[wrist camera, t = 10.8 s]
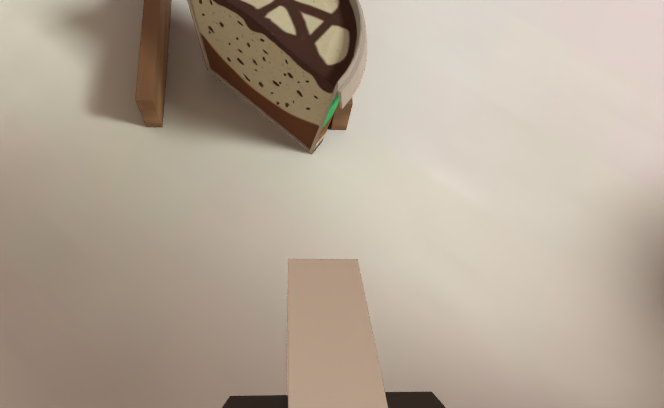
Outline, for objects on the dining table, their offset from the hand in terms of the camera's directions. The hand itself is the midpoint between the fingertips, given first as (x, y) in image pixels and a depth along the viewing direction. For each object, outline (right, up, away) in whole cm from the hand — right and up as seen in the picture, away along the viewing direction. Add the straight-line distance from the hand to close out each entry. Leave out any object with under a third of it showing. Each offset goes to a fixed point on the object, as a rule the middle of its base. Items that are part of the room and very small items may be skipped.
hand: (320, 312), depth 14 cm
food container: (-3, +11, +28) cm, 31 cm away
